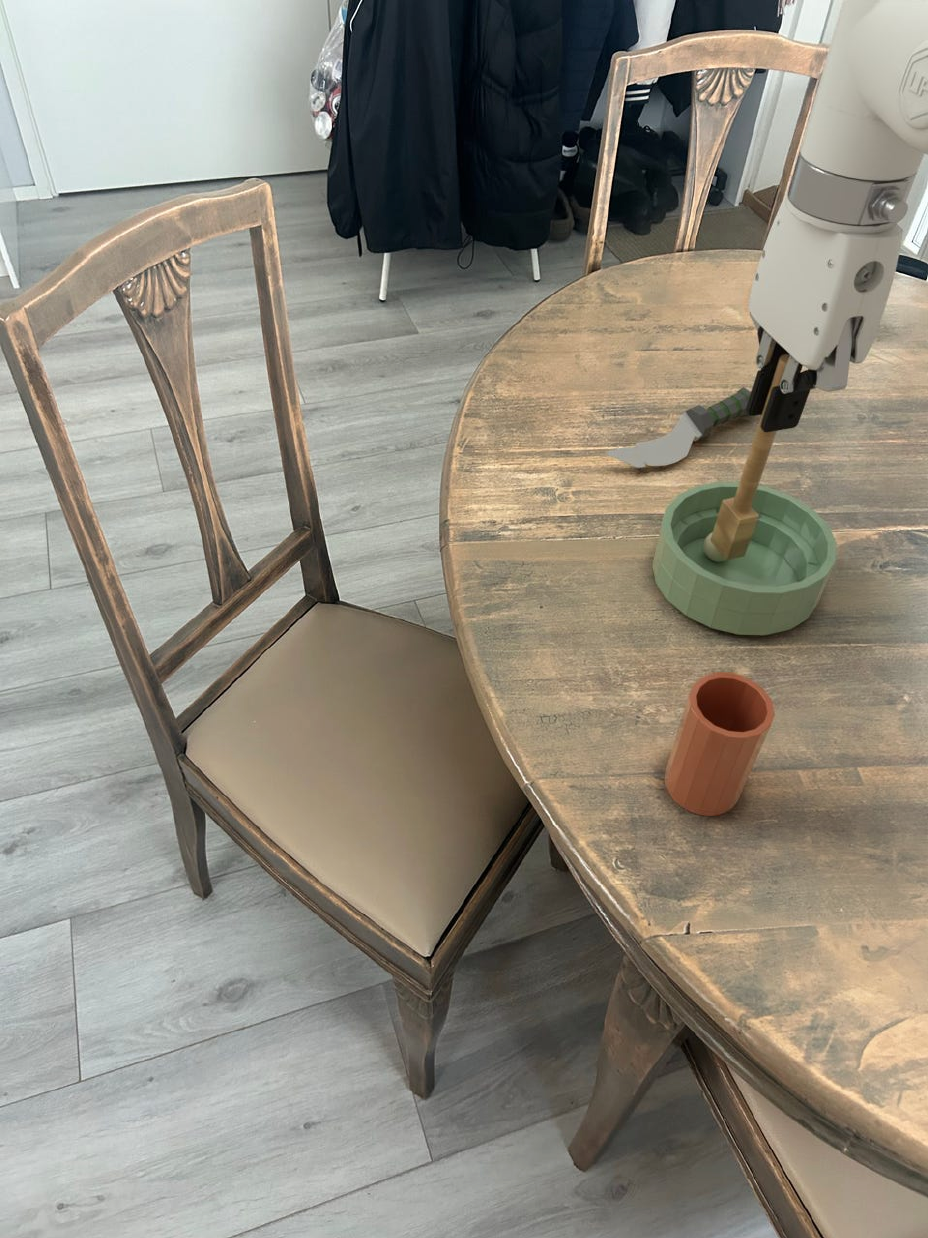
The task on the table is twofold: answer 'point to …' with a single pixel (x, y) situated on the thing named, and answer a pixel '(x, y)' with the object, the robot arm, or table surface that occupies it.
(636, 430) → the table surface
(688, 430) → the knife
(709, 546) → the bead
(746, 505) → the wooden masher
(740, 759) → the utensil cup
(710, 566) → the bowl
